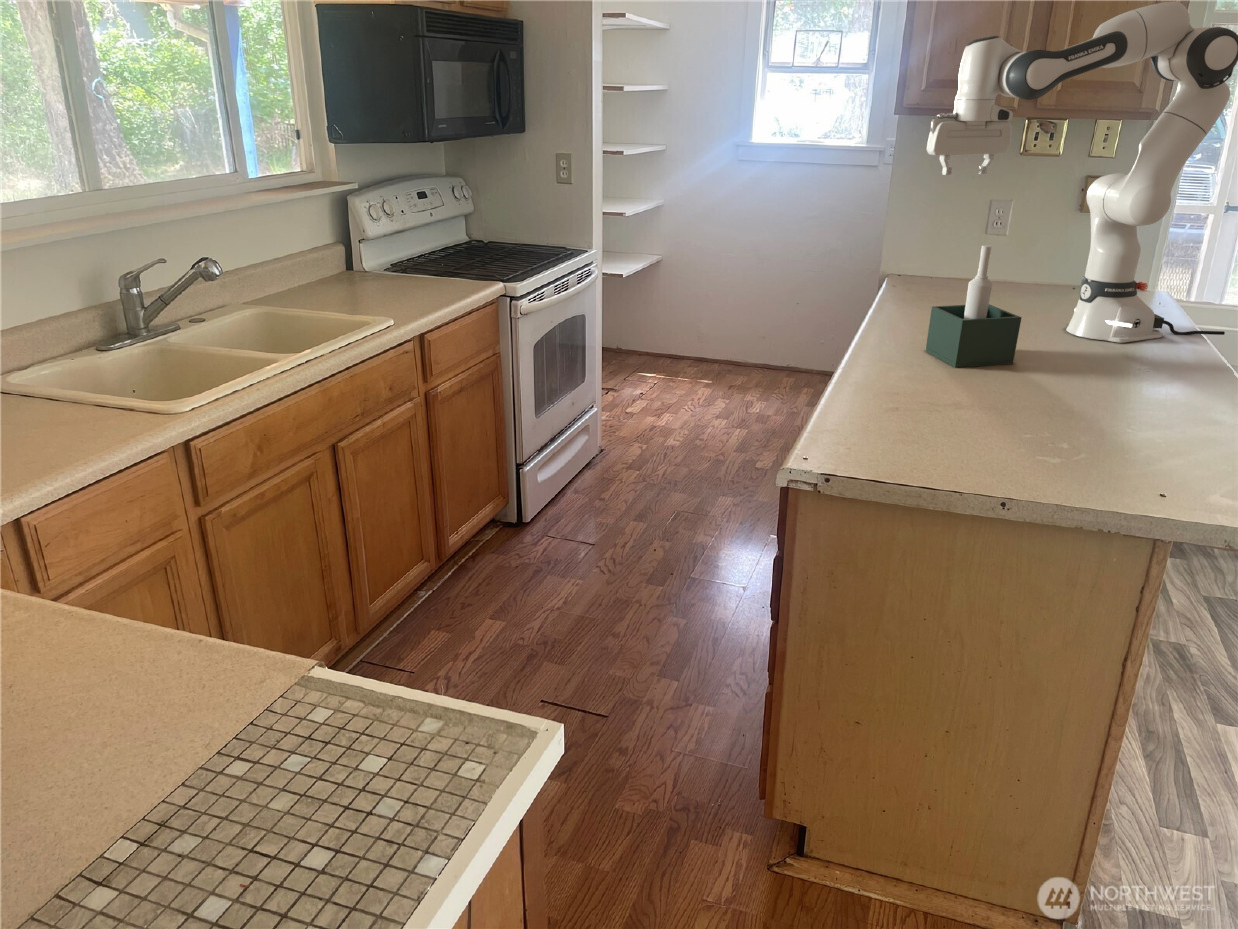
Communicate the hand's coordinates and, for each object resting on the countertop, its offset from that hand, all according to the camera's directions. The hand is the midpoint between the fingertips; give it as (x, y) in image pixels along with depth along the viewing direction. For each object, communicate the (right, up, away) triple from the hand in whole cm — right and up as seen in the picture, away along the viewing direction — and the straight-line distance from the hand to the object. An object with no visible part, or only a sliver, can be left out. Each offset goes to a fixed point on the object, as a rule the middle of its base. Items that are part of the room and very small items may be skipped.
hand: (964, 174), depth 211 cm
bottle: (-1, -44, -5) cm, 45 cm away
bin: (-1, -45, -5) cm, 45 cm away
